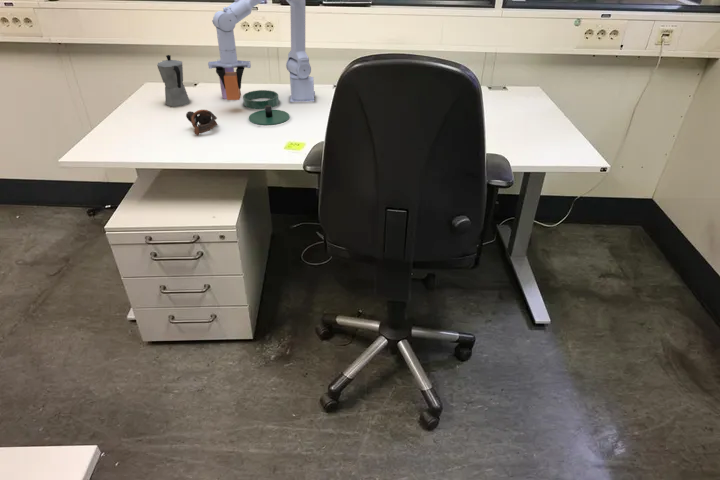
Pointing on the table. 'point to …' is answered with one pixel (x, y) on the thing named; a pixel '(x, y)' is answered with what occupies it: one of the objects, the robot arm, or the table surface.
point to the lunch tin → (260, 94)
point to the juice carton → (232, 86)
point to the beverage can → (222, 83)
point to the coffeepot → (173, 82)
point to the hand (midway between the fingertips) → (232, 88)
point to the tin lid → (269, 116)
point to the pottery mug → (202, 120)
